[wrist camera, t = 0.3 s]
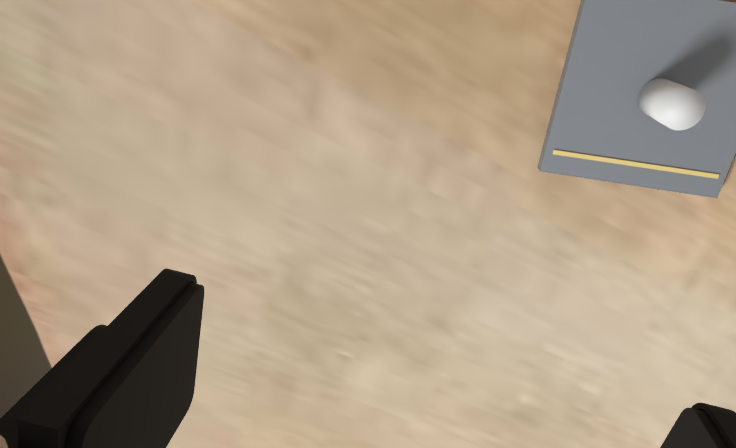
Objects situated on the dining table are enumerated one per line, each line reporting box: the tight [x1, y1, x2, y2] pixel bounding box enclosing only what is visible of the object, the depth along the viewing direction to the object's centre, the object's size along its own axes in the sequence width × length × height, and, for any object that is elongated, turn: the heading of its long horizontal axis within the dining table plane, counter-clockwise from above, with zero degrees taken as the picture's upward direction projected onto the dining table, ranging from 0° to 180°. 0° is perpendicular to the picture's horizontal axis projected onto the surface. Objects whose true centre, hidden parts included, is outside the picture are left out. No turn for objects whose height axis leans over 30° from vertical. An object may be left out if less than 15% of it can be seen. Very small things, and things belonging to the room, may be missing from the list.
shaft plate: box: [538, 0, 736, 198], centre depth 33 cm, size 12×12×5 cm
